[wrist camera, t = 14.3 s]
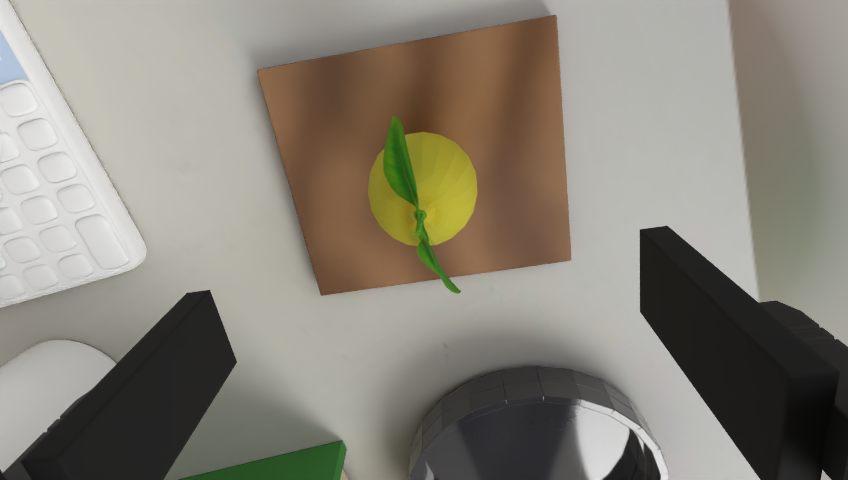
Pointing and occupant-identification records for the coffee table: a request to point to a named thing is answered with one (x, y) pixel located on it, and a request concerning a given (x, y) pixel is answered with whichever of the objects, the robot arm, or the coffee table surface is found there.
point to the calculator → (51, 185)
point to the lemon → (422, 191)
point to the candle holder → (43, 390)
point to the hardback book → (289, 466)
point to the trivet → (439, 114)
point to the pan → (535, 431)
